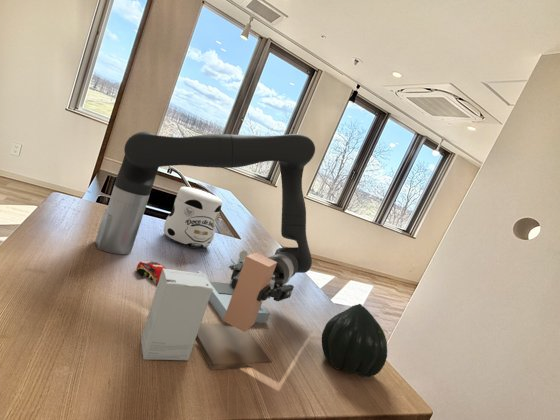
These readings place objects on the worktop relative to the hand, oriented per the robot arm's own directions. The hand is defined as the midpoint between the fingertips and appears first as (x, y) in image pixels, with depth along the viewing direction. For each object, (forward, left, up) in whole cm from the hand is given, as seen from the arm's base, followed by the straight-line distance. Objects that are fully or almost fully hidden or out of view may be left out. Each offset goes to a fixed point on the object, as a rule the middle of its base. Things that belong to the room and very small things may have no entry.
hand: (247, 290), depth 70 cm
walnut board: (+2, +2, -14) cm, 14 cm away
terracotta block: (+2, +2, -8) cm, 8 cm away
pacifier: (+26, +44, -14) cm, 53 cm away
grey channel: (+10, +20, -14) cm, 26 cm away
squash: (+30, -5, -14) cm, 33 cm away
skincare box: (-12, +1, -14) cm, 18 cm away
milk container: (+12, +62, -14) cm, 64 cm away
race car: (-7, +29, -14) cm, 33 cm away
